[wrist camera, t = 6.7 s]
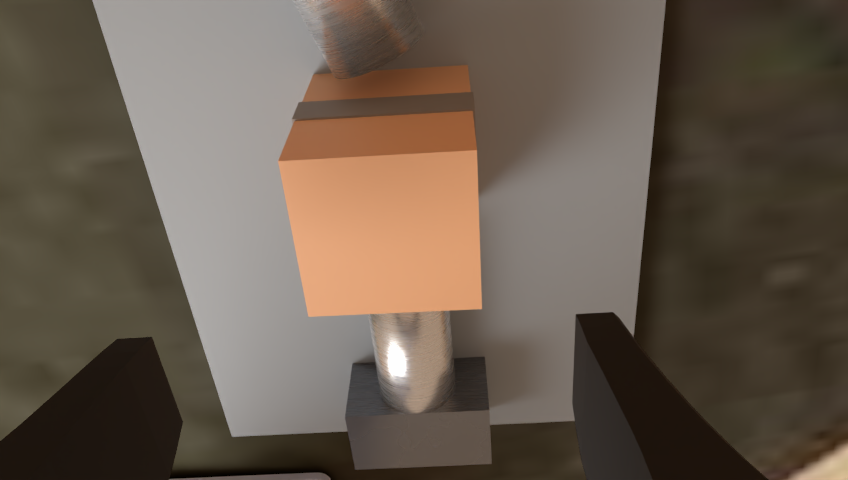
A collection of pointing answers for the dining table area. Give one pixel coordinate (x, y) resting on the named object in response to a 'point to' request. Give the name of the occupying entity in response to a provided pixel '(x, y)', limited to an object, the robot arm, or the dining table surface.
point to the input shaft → (417, 397)
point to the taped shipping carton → (385, 192)
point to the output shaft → (361, 32)
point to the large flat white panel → (497, 187)
